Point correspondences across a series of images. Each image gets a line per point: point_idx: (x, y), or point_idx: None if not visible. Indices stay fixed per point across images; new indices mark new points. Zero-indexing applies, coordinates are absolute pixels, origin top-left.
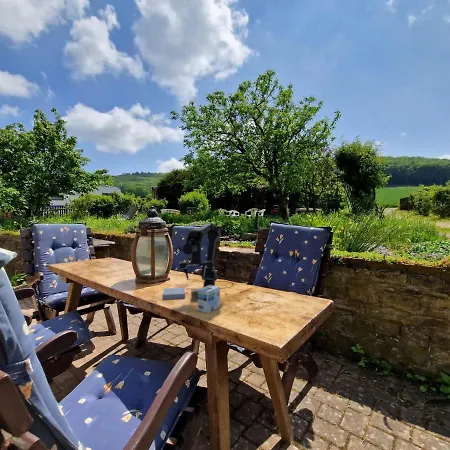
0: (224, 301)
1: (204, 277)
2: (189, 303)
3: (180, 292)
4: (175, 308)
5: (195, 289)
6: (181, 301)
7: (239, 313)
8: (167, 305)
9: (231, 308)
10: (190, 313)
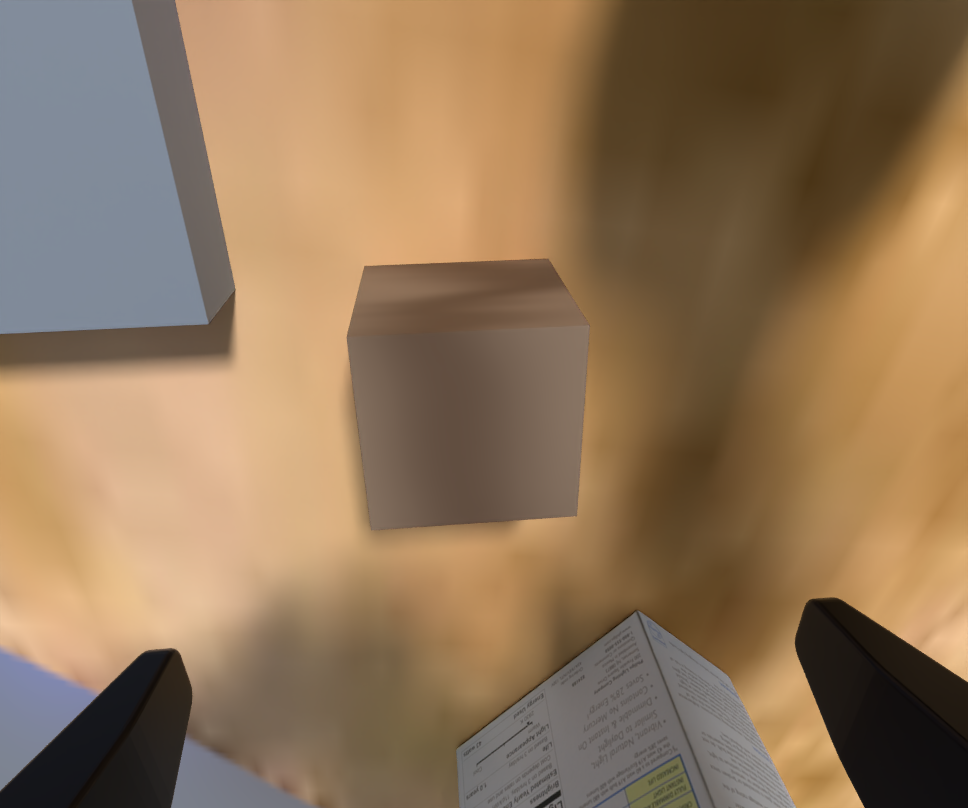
0: (878, 516)
1: (847, 737)
2: (346, 551)
3: (61, 213)
4: None
5: (462, 395)
6: (197, 463)
7: (850, 797)
8: (5, 599)
9: None
10: (373, 794)
